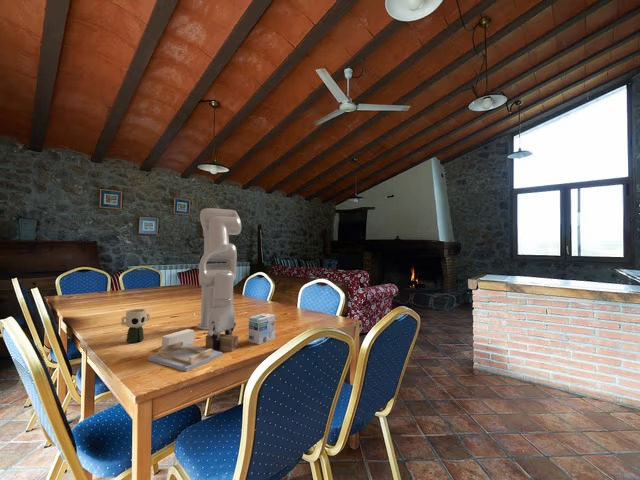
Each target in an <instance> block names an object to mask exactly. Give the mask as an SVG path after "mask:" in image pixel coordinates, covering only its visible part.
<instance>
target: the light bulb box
mask: <svg viewBox="0 0 640 480" xmlns="http://www.w3.org/2000/svg"><path fill="white" fill-rule="evenodd" d="M247 337H248V340H247V341H248V343H252V344H257V345H262V344H265V343H266V342H269V341H272V340H275V338H276V314H271V313H268V312H267V313H266V312H264V313H260V314H257V315H252V316H249V317H248V335H247Z"/></svg>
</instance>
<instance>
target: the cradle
mask: <svg viewBox="0 0 640 480" xmlns="http://www.w3.org/2000/svg"><path fill="white" fill-rule="evenodd" d="M180 349H181V350H185V351H188V352H192V353H196V354H195V355H193V356H190V357H189V360H187V359H183V358H180V357H176V356H172V355H169V354H168V353H171V352H174V351H177V350H180ZM213 350H214V349H208V350H205V351H200V350H196V349H191V348H187V347H183V342H178V343H175V344H172V345H169V346H166V347H163V348H162V347H160V348H158V350H157V353H158V356H161V357H164V358H168V359H171V360H175V361H178V362H182V363H186V364H189V365H193V364H195V363H197V362H200V361H202V360H204V359H207V358H209V357H211V356H212V355H213Z"/></svg>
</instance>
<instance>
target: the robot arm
mask: <svg viewBox="0 0 640 480" xmlns="http://www.w3.org/2000/svg"><path fill="white" fill-rule="evenodd" d="M199 220H200V224H201V227H202V231H203V234H204V235H203V236H204V237H203V238H204V239H203V240H204V241H203V245H204V246H203V255H202V256H201V258H200V261H199V265H198V280H199V281H198V282H199V285H200V286H201V294H200V297H201V299H200V301H201V302H200V322H199V323H197V325H196V328H197V329H199V330H203V331H204V330H206V331H207V333H206V334H207V335H209V336H210V337H211V338H212V339H213V350H214V351H221V350H220V340H219V337H220V334H222V332H224V334H226V335H233V331H234V329H235V328H236V326H237V324H236V322H235V310H234V304H233V303H234V283H235V281H236V278H237V264H238V263H237V262H238V260H237V259H238V257H237V255H238V254H237V251H238V250H237V247H236V245H235V244H233V243H230V235H236V236H237V235H239V234H240V233H241V231H242V221H241V218H240V216H239V213H238V212H237V211H236V210H234V209H227V208H225V209H223V208H214V207H212V208H211V207H209V208H206V207H205V208H203V209H202V210H200V214H199ZM208 262H217V263H218V262H223V263H224V262H226V263H225V264H223V263H221V264H220V263H218V264H217V263H208ZM207 263H208V264H207ZM216 333H217V336H216Z"/></svg>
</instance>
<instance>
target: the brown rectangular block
mask: <svg viewBox="0 0 640 480" xmlns="http://www.w3.org/2000/svg"><path fill="white" fill-rule="evenodd" d="M216 336H217V333H216ZM219 340H220V350H219V351H221V352H222V351H224V352H230V353H231V352H234V351H236V350H237V349H239V335H234V334H232V335H226V334H225V333H220V337H219ZM205 348H206V349H213V339H212V338H211V337H210V336H209V335H208V334H207V335H205ZM213 350H214V349H213Z"/></svg>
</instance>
